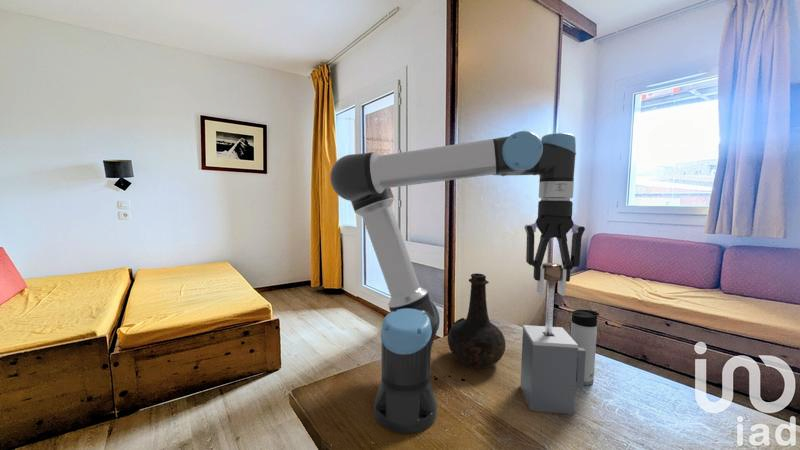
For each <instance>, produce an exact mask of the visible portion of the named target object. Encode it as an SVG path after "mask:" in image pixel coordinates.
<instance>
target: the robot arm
mask: <svg viewBox="0 0 800 450" xmlns="http://www.w3.org/2000/svg"><path fill="white" fill-rule="evenodd" d="M576 142H577V141H576V136H574V134H572V133H570V132H569V133H567V132H558V133H557V132H556V133H548V134H544V135H543V136H542V137H541V139H540V137H539V136H538V135H537V134H535V133H534V132H533V131H532V132H531V131H529V130H521V131H517V132H514V133H512V134H510V135H509V136H502V137H496V138H490V139H489V138H488V139H482V140H477V141H468V142H463V143H455V144H448V145H443V146H435V147H429V148H423V149H416V150H415V149H414V150H410V151H409V150H407V151H402V152H397V153H390V154H383V155H382V154H381V155H380V154H379V153H378V152H376V151H372V152H367V153H366V152H364V153H353V154H352V153H351V154H346V155H344V156H342V157H341V158H339V159H337V160H336V162H335V163H334V164H333V166H332V169H331V171H330V177H329V179H330V184H331V187H332V189H333V190H334V193H336V194H337V195H338V196H339V197H340V198H342V199H344V200H346V201H349V202H351V206H352V209H353V210H354V213H355V214H356V215H359V216H361V217H362V219H363V223H364V225H365V228H366V231H367V233H368V236H369V238H370V242H371V244H372V247H373V250H374V253H375V255H376V258H377V262H378V264H379V267H380V270H381V272H382V275H383V277H384V278H383V279H384V281H385V284H386V286H387V289H388V293H389V295H390V300H389V302H388V304H387V305H388V309H389V311H390V312H389V313H388V314H387V315H386V316H385V317H384V318H383V320H382V323H381V329H380V338H381V339H380V340H381V381H380V383H379V387H378V389H377V392H376V395H375V399H374V403H373V415H374V418H375V420H376V422H377V423H378V424H379V425H380V426H382V427H383V428H385V429H386V430H388V431H390V432H393V433H397V434H404V435H405V434H409V435H410V434H417V433H419V432H423V431H425V430H427V429H428V428H430V427H431V426H432V425H433V424H434V423H435V421H436V419H437V416H438V404H437V399H436V396H435V392H434V389H433V386H432V383H431V382H432V381H431V353H432V347H433V344H434V341H435V339H436V336H437V333H438V331H439V327H440V322H441V321H440V312H439V309H438V306H437V305H436V303H434V301H432V300H431V298H430V295H429V293H428V292H429V291H428V290H427V289H425V288H423V287H421V286H420V283H419V281H418V277H417V275H416V272H415V270H414V269H415V268H414V266H413V263H412V261H411V258H410V255H409V251H408V250H407V249H408V248H407V246H406V243H405V241H404V238H403V235H402V232H401V230H400V227H399V224H398V222H397V218H396V216H395V214H394V211H393V207H392V205H393V202H394V201H395V197H394V194H393V191H392V188H397V187H399V188H400V187H407V186H413V185H420V184H422V185H423V184H430V183H436V182H437V183H438V182H445V181H452V180H453V181H454V180H460V179H467V178H468V179H469V178H476V177H484V176H501V177H505V176H507V177H508V176H539V181H538V183H539V186H538V198H539V199H540V200H539V201H538V204H537V218H536V220H535V222H534V223H531V224H525V225H524V230H525V233H526V253H525V254H526V255H525V260H526V263H527V264H528V265H529V266H532V267H533V280H535V281H537V282H536V292H537V293H538V294H539V295H544V285H545V284H544V283H545V279H544V268H542V264H543V263H544V257H545V254H546V251H547V248H548V244H549V242H550V240H551V239H552V238H553V239H554V238H556V240H557V244H558V248H559V252H560V258H561V265H562V276H561V281H557V283H558V285H557V293H558V294H559V296H560V295H561V297H563V296H564V297H565V296H566V288H567V287H566V286H567V284H566V283H567V282H569V283H570V280H571V270H573V268H575V267H576V268H578V267H580V264H581V251H582V240H583V239H582V237H583V235H584V232H585V231H586V227H584V226H582V225H577V224H575V223H574V221H573V217H572V216H573V205H574V202H573V200H571V199H572V198H574V186H575V181H574V180H575V167H576V166H575V165H576V156H577V151H576V150H577V149H576ZM536 229H538V231H539V232H540V233H541V234H540V237H539V239H540V240H539V242H538V245H537V246H538V247H537V250H536V254H535V233H536V231H537V230H536ZM570 231H571V233H572V237H571V250H570V251H569V247H568V237H567V234H568V233H569V232H570Z"/></svg>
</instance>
